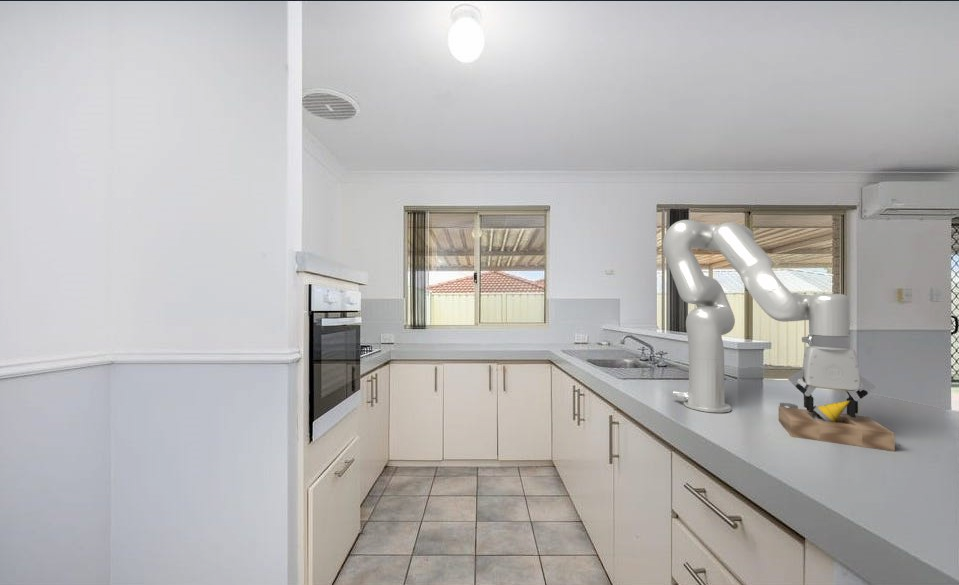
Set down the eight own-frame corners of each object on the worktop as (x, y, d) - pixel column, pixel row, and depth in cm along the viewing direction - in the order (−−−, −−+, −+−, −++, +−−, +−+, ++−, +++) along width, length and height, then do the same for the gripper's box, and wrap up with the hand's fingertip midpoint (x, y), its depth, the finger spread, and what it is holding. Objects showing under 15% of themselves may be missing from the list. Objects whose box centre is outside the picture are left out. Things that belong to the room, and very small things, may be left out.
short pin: (781, 419, 105) (781, 405, 105) (778, 415, 108) (778, 402, 108) (799, 421, 103) (799, 407, 103) (796, 418, 106) (795, 404, 106)
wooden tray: (791, 436, 91) (790, 420, 91) (778, 420, 104) (778, 406, 104) (894, 451, 83) (894, 433, 83) (867, 432, 95) (867, 416, 95)
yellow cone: (809, 421, 98) (847, 399, 94) (825, 436, 93) (865, 414, 89) (797, 410, 97) (835, 387, 93) (812, 425, 92) (852, 401, 88)
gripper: (788, 342, 95) (789, 412, 94) (884, 346, 86) (885, 423, 86) (781, 339, 101) (782, 405, 101) (870, 343, 93) (871, 415, 92)
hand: (830, 413), depth 93 cm, fingers closed on yellow cone, 7 cm apart
